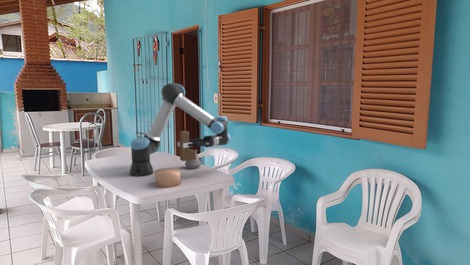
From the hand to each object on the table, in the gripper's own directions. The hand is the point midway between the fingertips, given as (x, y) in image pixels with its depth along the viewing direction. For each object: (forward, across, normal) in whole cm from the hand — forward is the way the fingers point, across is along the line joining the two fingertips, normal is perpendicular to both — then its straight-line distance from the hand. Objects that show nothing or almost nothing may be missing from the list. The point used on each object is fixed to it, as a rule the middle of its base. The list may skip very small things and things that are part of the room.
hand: (180, 144), depth 207 cm
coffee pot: (-26, +27, -23) cm, 44 cm away
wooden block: (-5, 0, -10) cm, 11 cm away
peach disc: (+10, -1, -22) cm, 24 cm away
